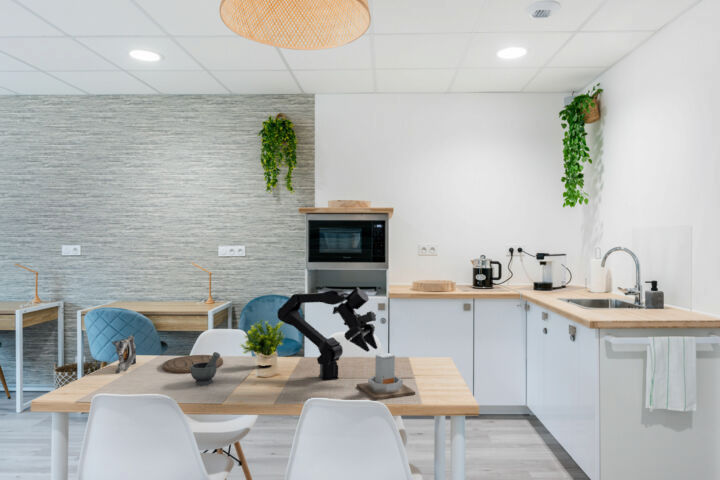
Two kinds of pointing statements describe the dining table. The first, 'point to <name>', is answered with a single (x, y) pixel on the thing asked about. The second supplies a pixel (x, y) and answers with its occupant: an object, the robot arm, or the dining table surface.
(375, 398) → the walnut board
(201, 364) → the mortar and pestle
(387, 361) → the skincare box
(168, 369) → the trivet
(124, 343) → the grey piece
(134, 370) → the dining table surface
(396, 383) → the steel ring
